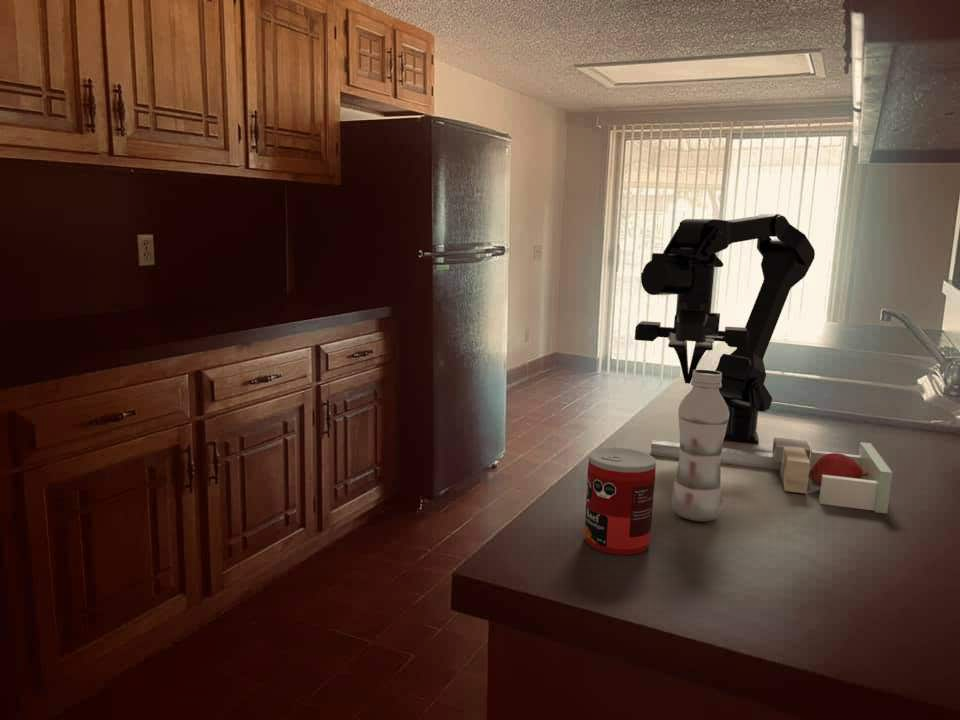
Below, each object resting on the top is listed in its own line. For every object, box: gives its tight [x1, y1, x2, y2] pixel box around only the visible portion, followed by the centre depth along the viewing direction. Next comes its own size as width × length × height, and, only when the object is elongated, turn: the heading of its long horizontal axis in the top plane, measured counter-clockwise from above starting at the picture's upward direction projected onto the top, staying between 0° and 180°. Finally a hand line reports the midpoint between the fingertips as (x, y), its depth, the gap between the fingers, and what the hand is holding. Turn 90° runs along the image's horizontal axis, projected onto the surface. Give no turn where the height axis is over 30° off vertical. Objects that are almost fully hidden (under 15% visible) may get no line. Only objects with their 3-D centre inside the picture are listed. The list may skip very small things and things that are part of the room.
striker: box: [772, 437, 812, 495], centre depth 114 cm, size 14×5×5 cm, turn 162°
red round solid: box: [809, 452, 868, 487], centre depth 109 cm, size 6×6×8 cm
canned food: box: [584, 447, 657, 556], centre depth 88 cm, size 8×8×11 cm
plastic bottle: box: [671, 368, 729, 522], centre depth 96 cm, size 6×7×20 cm
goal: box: [809, 441, 893, 515], centre depth 109 cm, size 15×8×6 cm, turn 162°
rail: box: [650, 439, 782, 471], centre depth 122 cm, size 2×31×2 cm, turn 72°
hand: (687, 383), depth 127 cm, fingers closed
